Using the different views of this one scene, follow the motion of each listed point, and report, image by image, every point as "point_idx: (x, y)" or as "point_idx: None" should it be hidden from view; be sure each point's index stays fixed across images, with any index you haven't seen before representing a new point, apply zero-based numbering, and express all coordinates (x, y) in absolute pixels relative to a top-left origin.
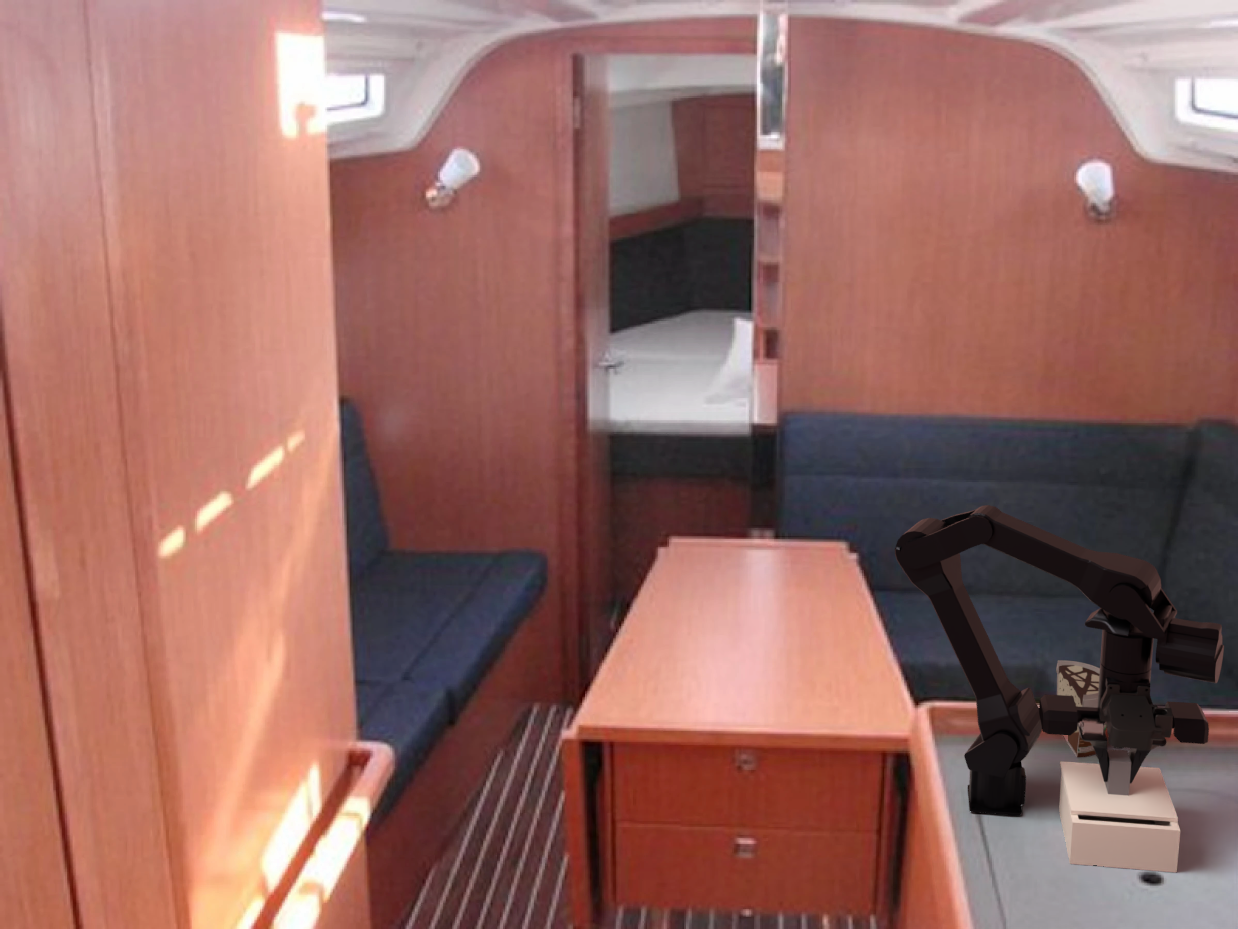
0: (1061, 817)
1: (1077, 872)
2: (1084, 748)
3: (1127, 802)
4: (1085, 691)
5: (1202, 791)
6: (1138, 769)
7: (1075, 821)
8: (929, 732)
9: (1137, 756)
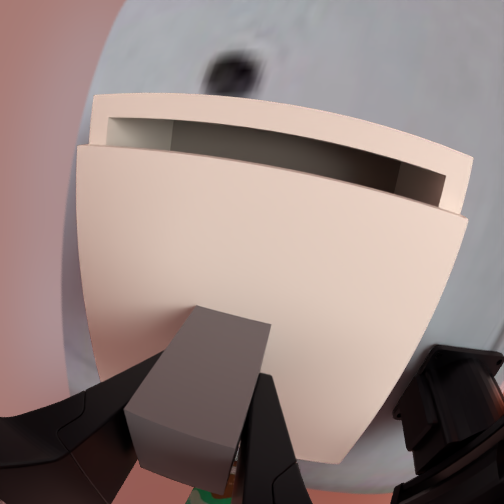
0: None
1: (408, 111)
2: (233, 472)
3: (213, 260)
4: None
5: (90, 362)
6: (115, 376)
7: (462, 163)
8: None
9: (82, 424)
